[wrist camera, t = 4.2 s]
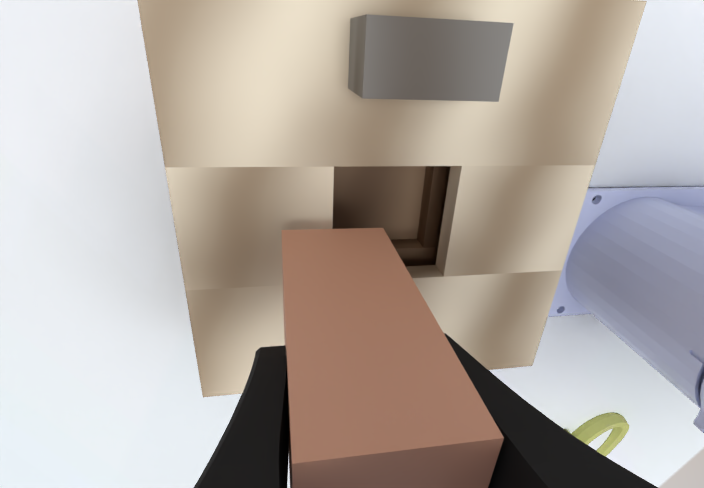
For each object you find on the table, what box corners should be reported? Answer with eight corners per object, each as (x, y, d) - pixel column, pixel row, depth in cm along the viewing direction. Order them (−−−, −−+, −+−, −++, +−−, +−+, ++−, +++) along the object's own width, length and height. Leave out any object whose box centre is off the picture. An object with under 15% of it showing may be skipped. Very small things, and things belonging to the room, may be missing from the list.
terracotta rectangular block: (383, 227, 14) (503, 437, 7) (375, 310, 16) (466, 554, 8) (281, 229, 14) (292, 463, 6) (283, 315, 15) (293, 584, 8)
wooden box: (565, 8, 17) (618, 3, 15) (492, 315, 25) (518, 348, 22) (167, -18, 15) (144, -31, 12) (215, 334, 22) (207, 375, 19)
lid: (624, 3, 15) (718, -6, 11) (521, 352, 22) (562, 404, 19) (142, -32, 12) (95, -56, 9) (206, 380, 19) (193, 446, 16)
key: (490, 408, 29) (505, 434, 27) (629, 407, 32) (651, 430, 30) (460, 474, 32) (472, 501, 30) (590, 467, 35) (608, 492, 33)
